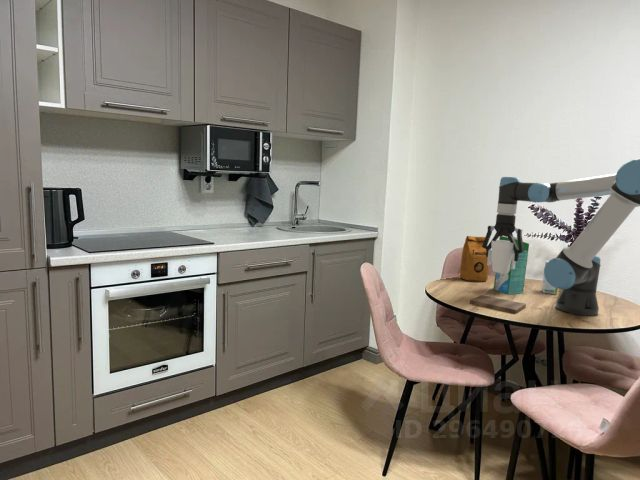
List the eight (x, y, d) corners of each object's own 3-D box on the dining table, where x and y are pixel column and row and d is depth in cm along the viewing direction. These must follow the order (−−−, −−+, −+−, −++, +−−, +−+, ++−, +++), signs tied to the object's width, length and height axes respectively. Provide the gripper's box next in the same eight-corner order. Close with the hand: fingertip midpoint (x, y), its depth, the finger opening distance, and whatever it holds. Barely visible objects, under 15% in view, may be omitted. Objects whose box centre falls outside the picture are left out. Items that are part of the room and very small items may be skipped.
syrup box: (543, 292, 222) (547, 261, 220) (541, 290, 228) (545, 259, 226) (556, 294, 220) (560, 263, 218) (555, 291, 226) (559, 261, 224)
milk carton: (523, 293, 218) (530, 238, 215) (507, 294, 215) (514, 238, 211) (508, 288, 227) (515, 235, 223) (493, 289, 223) (499, 235, 220)
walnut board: (525, 307, 194) (525, 303, 194) (515, 313, 184) (516, 310, 183) (481, 298, 205) (481, 294, 205) (469, 303, 195) (469, 299, 194)
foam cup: (486, 271, 204) (489, 241, 203) (490, 268, 213) (493, 239, 211) (510, 274, 200) (514, 243, 198) (513, 271, 208) (516, 241, 207)
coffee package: (489, 283, 236) (494, 238, 233) (464, 281, 235) (469, 237, 232) (481, 278, 246) (486, 235, 243) (457, 277, 245) (462, 234, 242)
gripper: (536, 216, 199) (530, 269, 202) (483, 211, 213) (478, 262, 216) (531, 216, 194) (525, 272, 196) (477, 212, 207) (472, 263, 210)
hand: (500, 266), depth 206 cm, fingers closed on foam cup, 9 cm apart
